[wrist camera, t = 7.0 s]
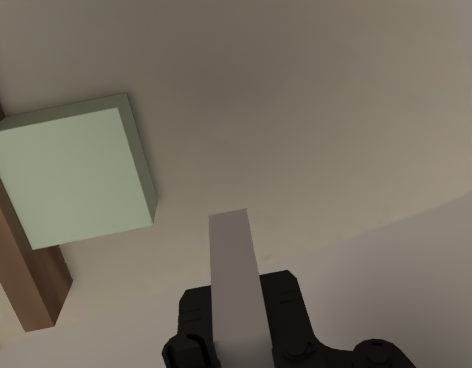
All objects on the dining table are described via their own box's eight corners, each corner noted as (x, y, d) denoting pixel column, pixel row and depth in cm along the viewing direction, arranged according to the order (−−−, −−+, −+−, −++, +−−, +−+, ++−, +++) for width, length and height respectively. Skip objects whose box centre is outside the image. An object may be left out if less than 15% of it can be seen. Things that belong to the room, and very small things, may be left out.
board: (-25, 44, 27) (-69, 56, 22) (72, 281, 35) (54, 326, 30) (-57, 50, 27) (-108, 64, 22) (47, 286, 35) (25, 332, 30)
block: (126, 91, 29) (117, 107, 26) (157, 198, 33) (153, 225, 29) (7, 115, 29) (-19, 135, 26) (50, 220, 33) (32, 249, 29)
